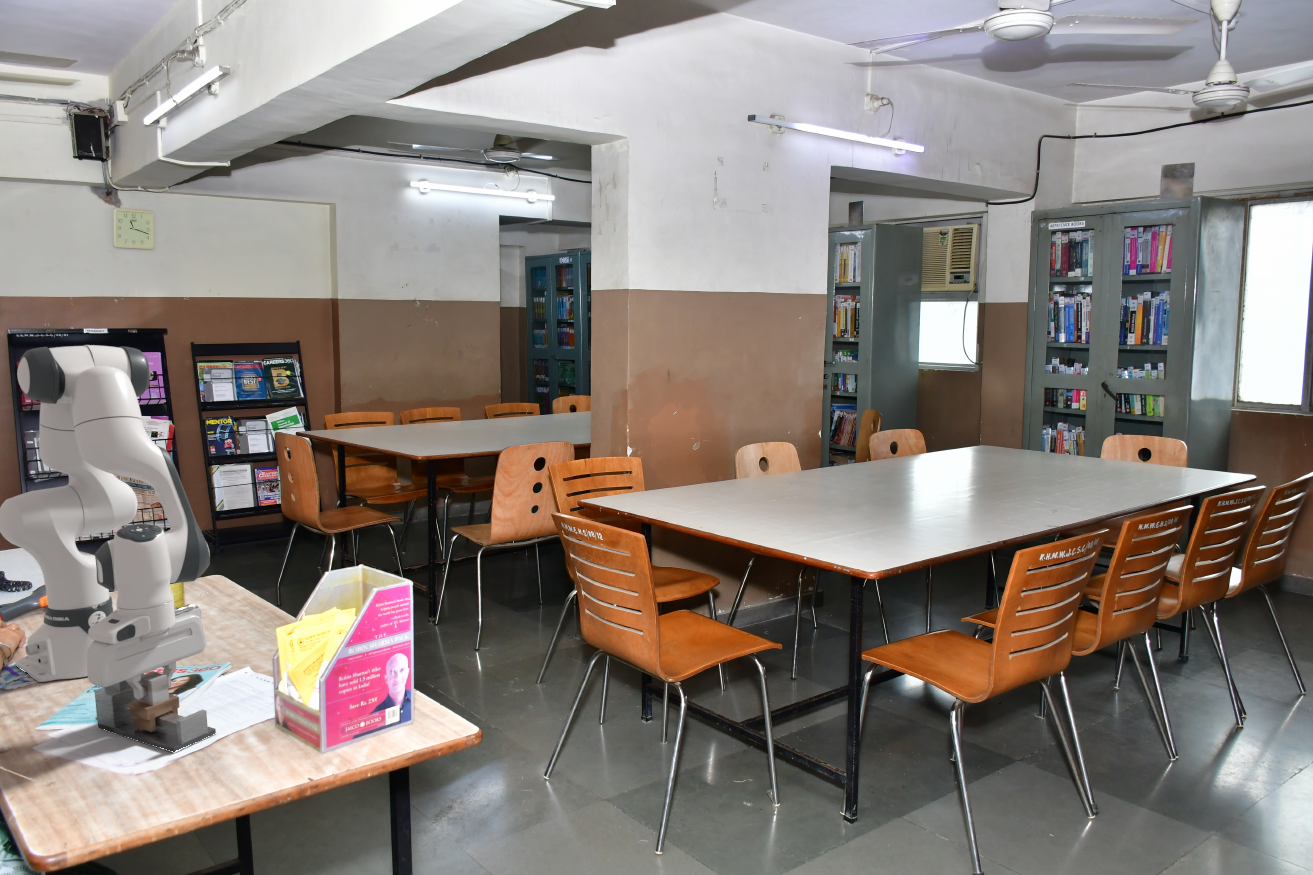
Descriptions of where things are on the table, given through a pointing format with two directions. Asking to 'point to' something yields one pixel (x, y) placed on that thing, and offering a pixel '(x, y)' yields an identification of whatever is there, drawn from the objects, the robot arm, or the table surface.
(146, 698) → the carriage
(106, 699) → the grey stepped block fixture
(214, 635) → the table surface
